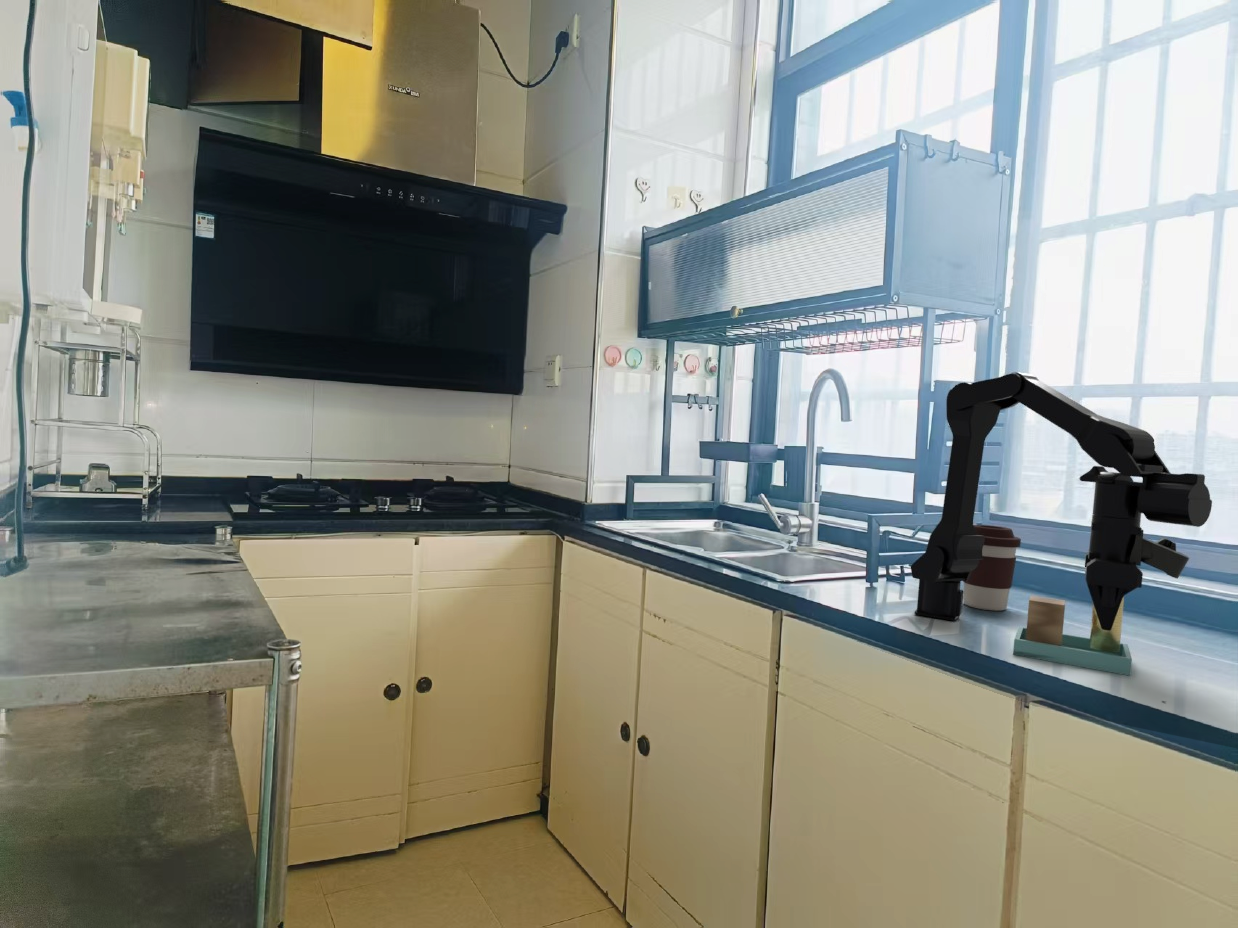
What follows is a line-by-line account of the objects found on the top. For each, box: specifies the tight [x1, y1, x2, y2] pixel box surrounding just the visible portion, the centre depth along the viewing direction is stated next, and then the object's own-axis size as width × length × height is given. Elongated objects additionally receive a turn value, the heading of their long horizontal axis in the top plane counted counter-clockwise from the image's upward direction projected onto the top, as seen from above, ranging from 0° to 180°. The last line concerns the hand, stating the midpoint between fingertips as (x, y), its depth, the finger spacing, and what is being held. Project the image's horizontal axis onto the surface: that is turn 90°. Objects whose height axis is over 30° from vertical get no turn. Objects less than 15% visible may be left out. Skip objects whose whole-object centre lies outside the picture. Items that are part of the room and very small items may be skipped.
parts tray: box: [1012, 626, 1133, 676], centre depth 111 cm, size 14×10×2 cm
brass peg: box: [1089, 597, 1125, 652], centre depth 109 cm, size 4×4×8 cm
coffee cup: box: [962, 524, 1022, 612], centre depth 145 cm, size 10×10×15 cm
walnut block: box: [1026, 595, 1066, 646], centre depth 113 cm, size 4×4×7 cm
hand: (1105, 627), depth 109 cm, fingers closed on brass peg, 4 cm apart
